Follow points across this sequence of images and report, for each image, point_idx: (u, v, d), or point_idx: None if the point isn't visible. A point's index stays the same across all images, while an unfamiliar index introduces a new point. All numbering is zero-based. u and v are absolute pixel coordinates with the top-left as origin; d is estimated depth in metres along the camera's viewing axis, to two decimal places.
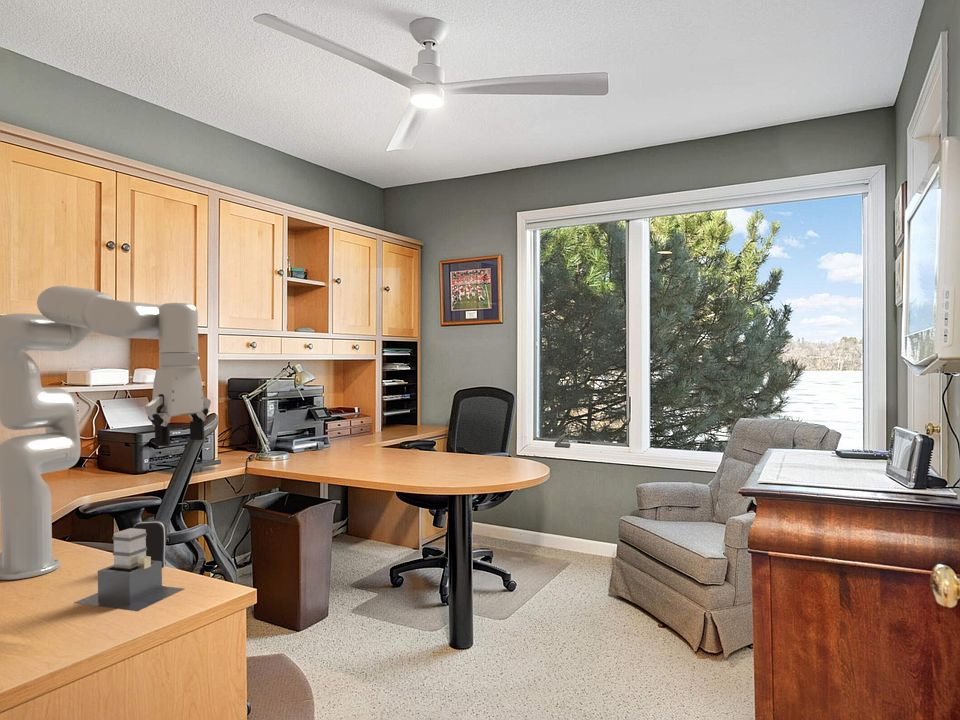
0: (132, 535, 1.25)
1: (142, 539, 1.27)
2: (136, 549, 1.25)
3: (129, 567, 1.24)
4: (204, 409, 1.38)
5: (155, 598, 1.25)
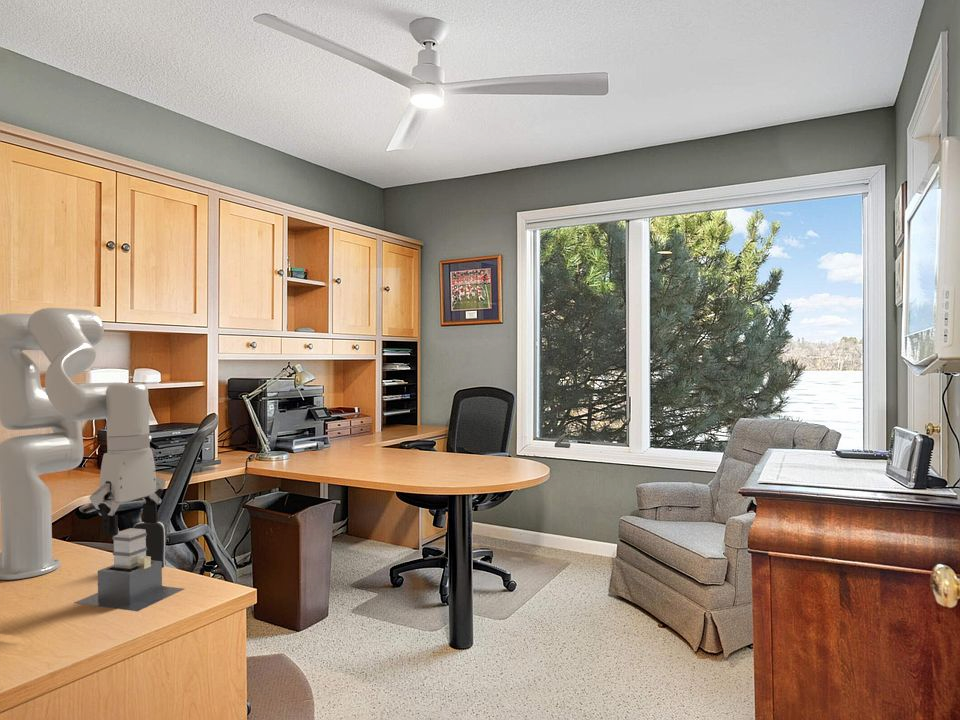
0: (132, 535, 1.25)
1: (142, 539, 1.27)
2: (136, 549, 1.25)
3: (129, 567, 1.24)
4: (158, 490, 1.32)
5: (155, 598, 1.25)
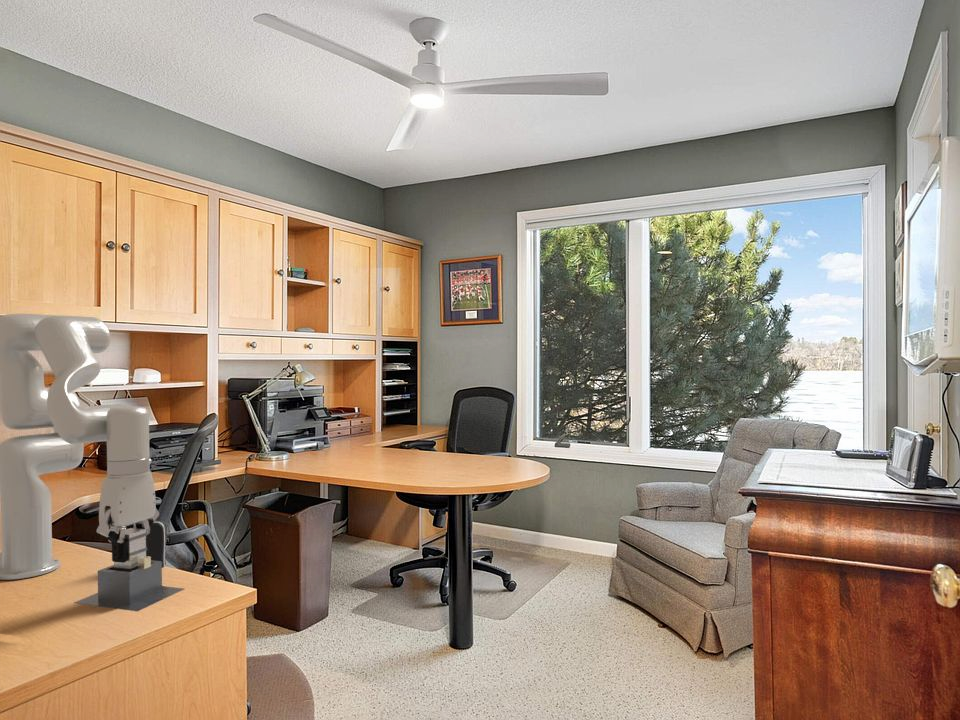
0: (132, 535, 1.25)
1: (142, 539, 1.27)
2: (136, 549, 1.25)
3: (129, 567, 1.24)
4: (148, 520, 1.30)
5: (155, 598, 1.25)
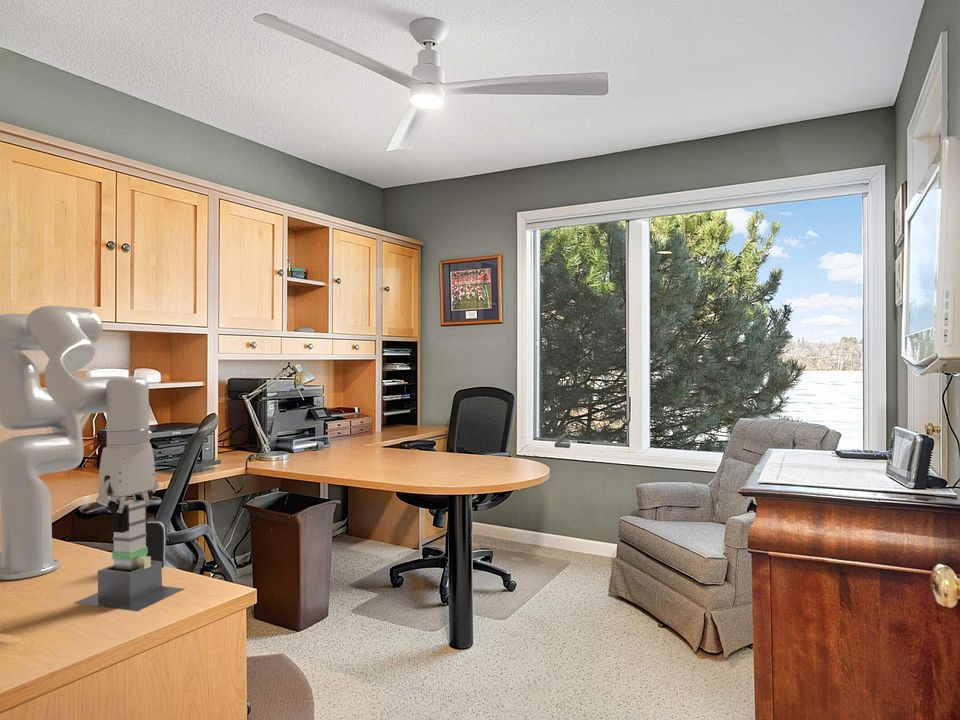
0: (132, 505, 1.25)
1: (142, 510, 1.27)
2: (136, 520, 1.25)
3: (129, 537, 1.24)
4: (148, 492, 1.30)
5: (155, 598, 1.25)
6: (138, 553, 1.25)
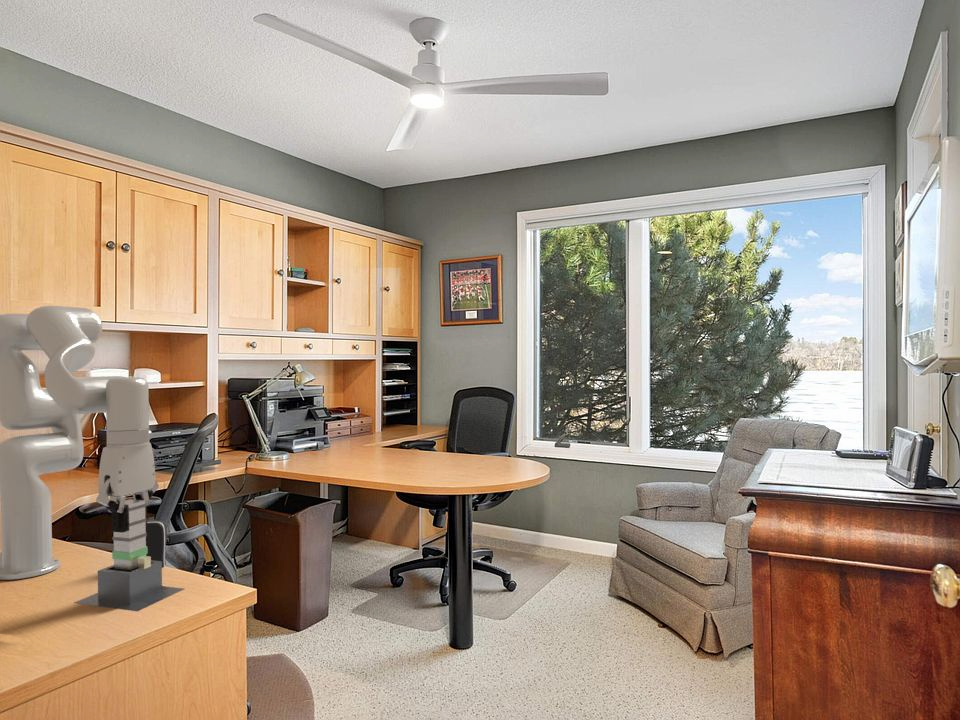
0: (132, 505, 1.25)
1: (142, 510, 1.27)
2: (136, 519, 1.25)
3: (129, 537, 1.24)
4: (148, 492, 1.30)
5: (155, 598, 1.25)
6: (138, 553, 1.25)
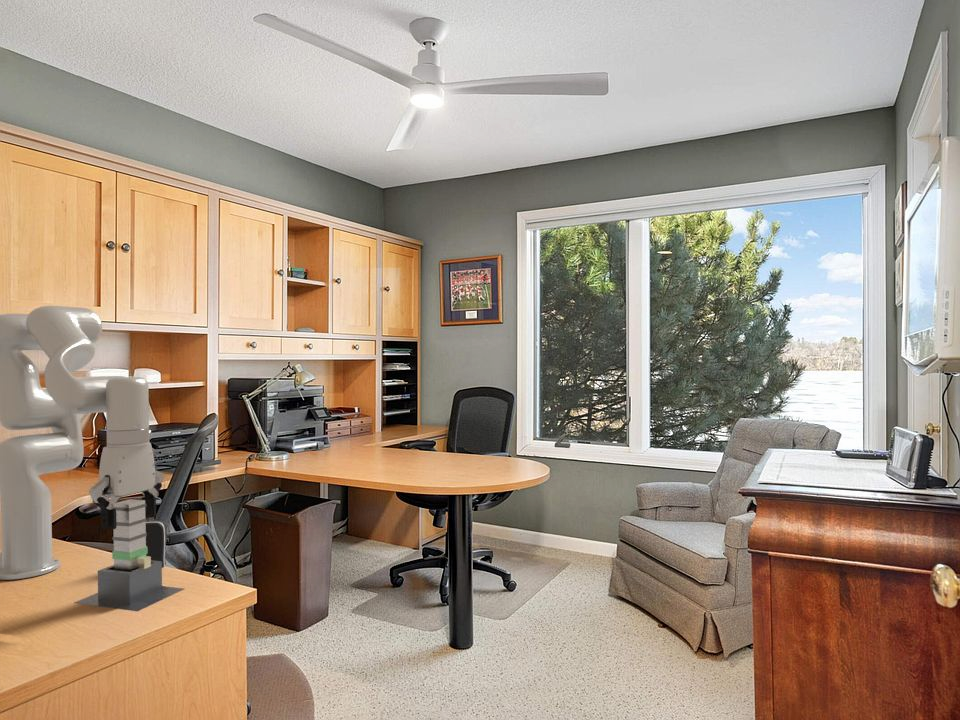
0: (132, 505, 1.25)
1: (142, 510, 1.27)
2: (136, 519, 1.25)
3: (129, 537, 1.24)
4: (157, 484, 1.32)
5: (155, 598, 1.25)
6: (138, 553, 1.25)
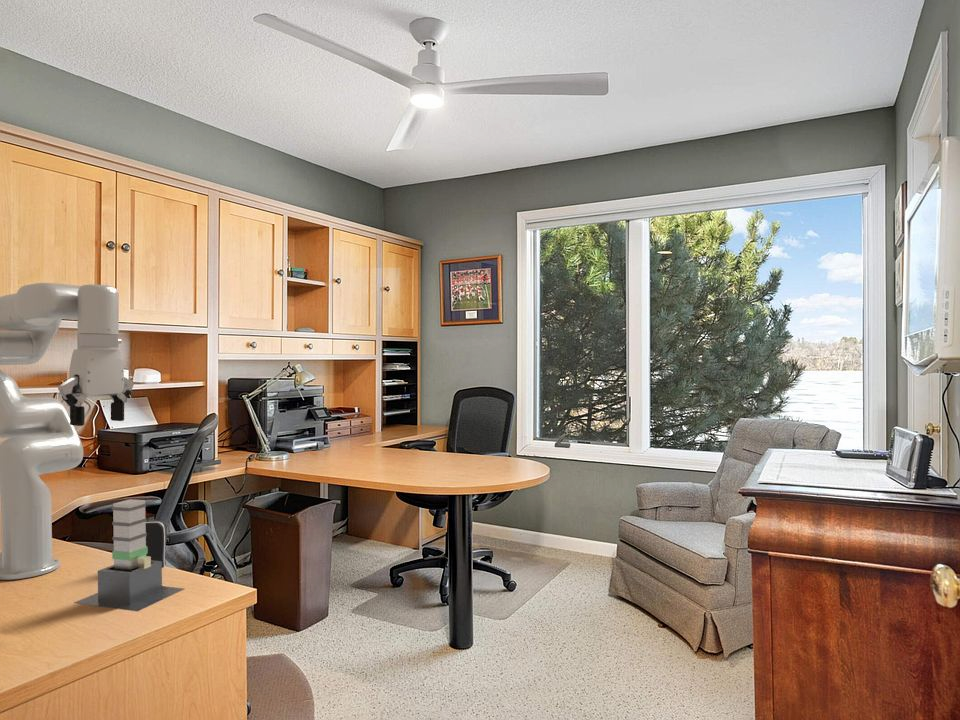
0: (132, 505, 1.25)
1: (142, 510, 1.27)
2: (136, 519, 1.25)
3: (129, 537, 1.24)
4: (126, 391, 1.39)
5: (155, 598, 1.25)
6: (138, 553, 1.25)
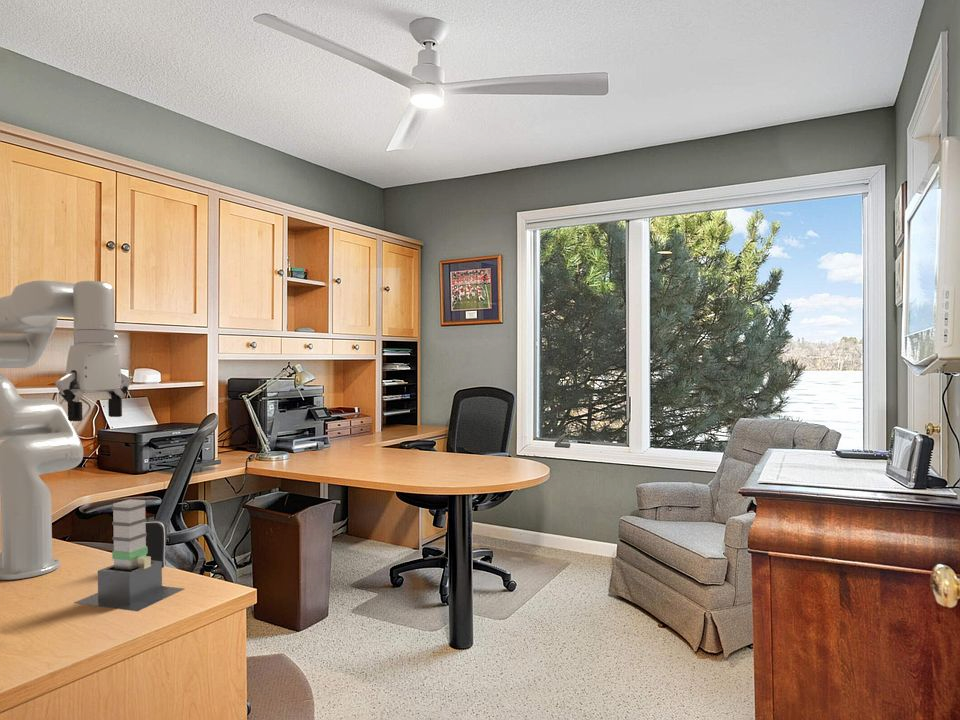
0: (132, 505, 1.25)
1: (142, 510, 1.27)
2: (136, 519, 1.25)
3: (129, 537, 1.24)
4: (123, 387, 1.40)
5: (155, 598, 1.25)
6: (138, 553, 1.25)
